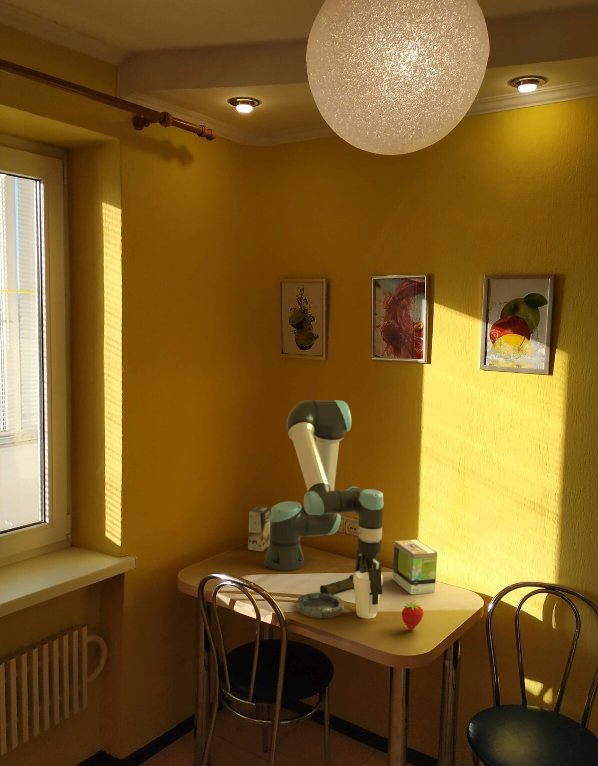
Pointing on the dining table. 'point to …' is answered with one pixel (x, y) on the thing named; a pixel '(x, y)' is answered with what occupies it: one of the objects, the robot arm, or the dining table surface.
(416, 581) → the tea box
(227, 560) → the dining table surface
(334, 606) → the grey shallow round dish
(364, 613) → the foam cup
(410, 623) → the strawberry
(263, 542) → the coffee box
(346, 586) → the hand tool
